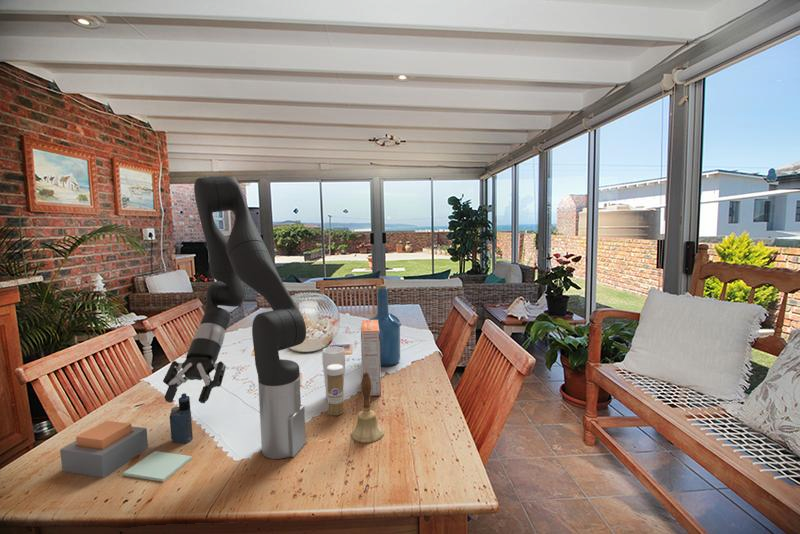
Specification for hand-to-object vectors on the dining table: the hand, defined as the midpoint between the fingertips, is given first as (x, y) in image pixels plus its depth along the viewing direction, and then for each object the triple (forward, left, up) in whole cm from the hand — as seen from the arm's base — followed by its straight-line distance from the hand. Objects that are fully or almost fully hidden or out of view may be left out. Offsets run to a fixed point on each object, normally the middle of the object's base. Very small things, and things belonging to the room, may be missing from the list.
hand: (184, 402), depth 95 cm
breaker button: (+11, +12, -5) cm, 17 cm away
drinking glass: (-28, -28, -9) cm, 41 cm away
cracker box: (-37, -37, -9) cm, 53 cm away
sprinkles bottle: (-32, -19, -9) cm, 39 cm away
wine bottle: (-35, -61, -9) cm, 71 cm away
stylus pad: (-3, +12, -9) cm, 15 cm away
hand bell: (-44, -10, -9) cm, 46 cm away
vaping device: (0, +2, -9) cm, 9 cm away
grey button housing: (+11, +12, -9) cm, 18 cm away
